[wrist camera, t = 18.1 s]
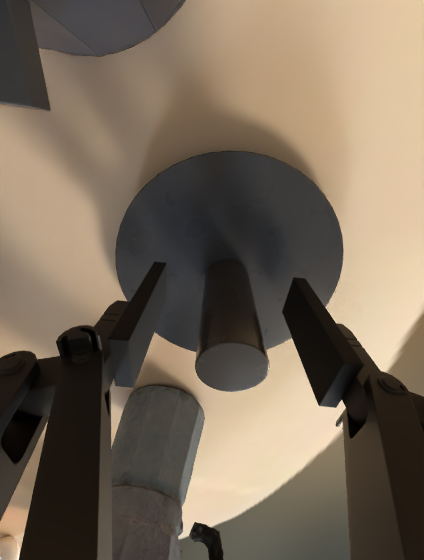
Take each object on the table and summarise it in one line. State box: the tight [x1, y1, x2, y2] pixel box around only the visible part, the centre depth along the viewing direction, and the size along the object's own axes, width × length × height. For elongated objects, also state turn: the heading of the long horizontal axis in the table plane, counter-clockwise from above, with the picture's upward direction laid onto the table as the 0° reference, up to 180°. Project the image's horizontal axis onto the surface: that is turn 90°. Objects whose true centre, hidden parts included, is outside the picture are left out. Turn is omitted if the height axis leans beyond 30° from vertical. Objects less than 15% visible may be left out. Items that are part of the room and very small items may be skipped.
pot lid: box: [115, 151, 343, 392], centre depth 13 cm, size 15×15×9 cm
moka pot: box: [111, 385, 223, 560], centre depth 17 cm, size 10×15×20 cm, turn 82°
